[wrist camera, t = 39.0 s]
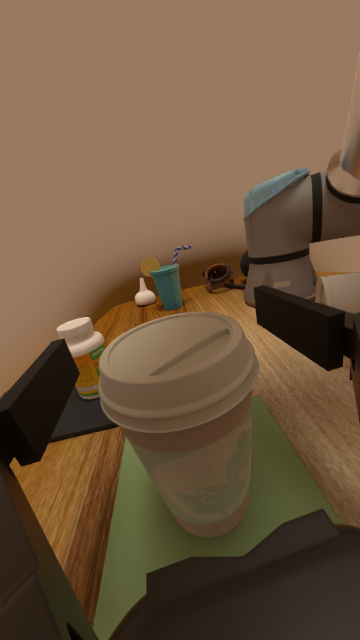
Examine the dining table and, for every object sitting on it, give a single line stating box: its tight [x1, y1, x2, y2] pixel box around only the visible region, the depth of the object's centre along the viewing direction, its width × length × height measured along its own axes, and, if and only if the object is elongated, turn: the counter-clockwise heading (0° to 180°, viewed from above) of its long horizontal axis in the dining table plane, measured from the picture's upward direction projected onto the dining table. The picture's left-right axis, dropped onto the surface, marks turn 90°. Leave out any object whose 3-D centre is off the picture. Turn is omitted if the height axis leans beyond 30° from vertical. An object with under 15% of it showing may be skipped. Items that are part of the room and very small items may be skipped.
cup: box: [140, 246, 191, 310], centre depth 59 cm, size 14×8×15 cm, turn 102°
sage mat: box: [93, 395, 342, 640], centre depth 16 cm, size 15×14×1 cm
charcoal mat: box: [49, 386, 119, 443], centre depth 31 cm, size 15×14×1 cm
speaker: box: [240, 250, 249, 277], centre depth 65 cm, size 10×10×10 cm
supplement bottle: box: [57, 317, 107, 399], centre depth 29 cm, size 5×5×10 cm
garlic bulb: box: [135, 278, 155, 305], centre depth 69 cm, size 6×6×8 cm
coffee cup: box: [98, 312, 259, 538], centre depth 14 cm, size 9×8×12 cm
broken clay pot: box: [202, 264, 234, 293], centre depth 68 cm, size 12×10×8 cm
